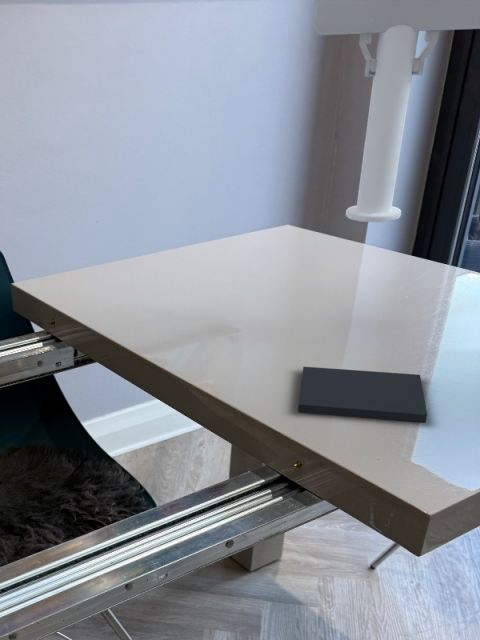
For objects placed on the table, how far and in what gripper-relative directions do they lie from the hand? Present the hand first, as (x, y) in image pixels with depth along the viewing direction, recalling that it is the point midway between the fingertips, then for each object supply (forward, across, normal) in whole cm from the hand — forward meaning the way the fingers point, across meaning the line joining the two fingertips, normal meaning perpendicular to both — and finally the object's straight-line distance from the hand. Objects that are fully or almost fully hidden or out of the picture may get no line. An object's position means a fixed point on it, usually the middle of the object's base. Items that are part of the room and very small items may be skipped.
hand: (393, 75), depth 96 cm
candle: (+17, 0, 0) cm, 17 cm away
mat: (+32, 0, -25) cm, 40 cm away
